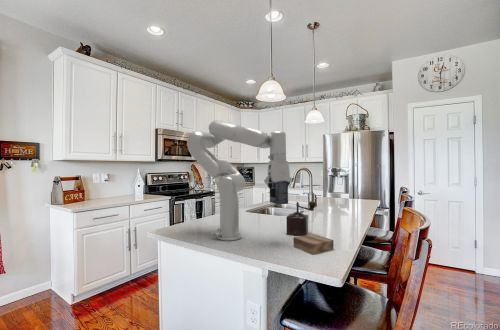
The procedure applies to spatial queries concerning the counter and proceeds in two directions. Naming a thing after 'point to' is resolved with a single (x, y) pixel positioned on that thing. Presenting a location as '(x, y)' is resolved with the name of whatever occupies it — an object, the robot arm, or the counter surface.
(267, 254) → the counter surface
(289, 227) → the antique coffee grinder
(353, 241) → the counter surface
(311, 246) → the base
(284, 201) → the box
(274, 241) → the counter surface
